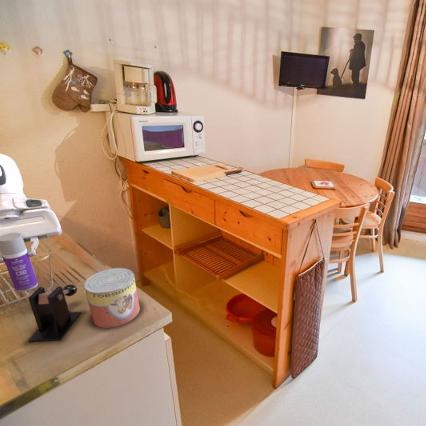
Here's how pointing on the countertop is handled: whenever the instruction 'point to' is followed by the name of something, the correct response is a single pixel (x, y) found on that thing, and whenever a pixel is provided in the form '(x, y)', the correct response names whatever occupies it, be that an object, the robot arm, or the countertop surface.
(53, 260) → the countertop surface
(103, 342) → the countertop surface
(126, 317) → the canned food
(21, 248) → the container
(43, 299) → the lever
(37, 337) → the bracket
